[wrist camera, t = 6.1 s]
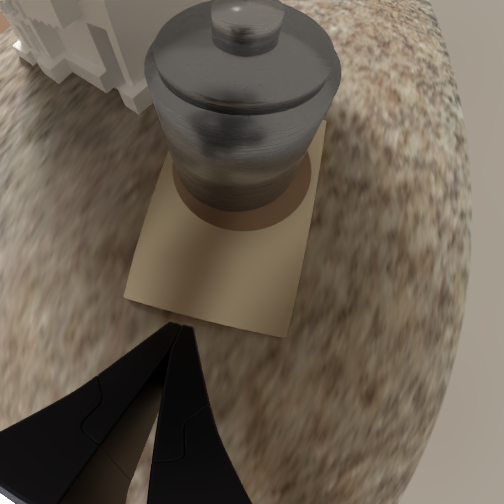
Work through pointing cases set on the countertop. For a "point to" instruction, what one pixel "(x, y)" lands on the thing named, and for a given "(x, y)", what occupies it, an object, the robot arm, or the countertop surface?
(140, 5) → the dollhouse
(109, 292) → the countertop surface
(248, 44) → the grey lidded jar
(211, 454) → the robot arm
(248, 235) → the tan rectangular board
